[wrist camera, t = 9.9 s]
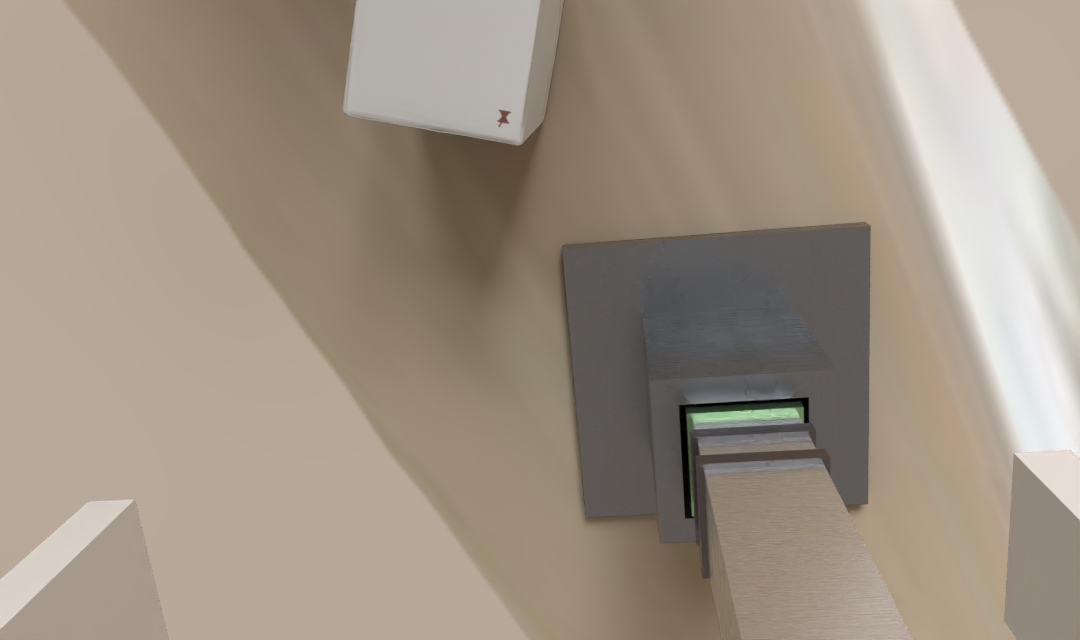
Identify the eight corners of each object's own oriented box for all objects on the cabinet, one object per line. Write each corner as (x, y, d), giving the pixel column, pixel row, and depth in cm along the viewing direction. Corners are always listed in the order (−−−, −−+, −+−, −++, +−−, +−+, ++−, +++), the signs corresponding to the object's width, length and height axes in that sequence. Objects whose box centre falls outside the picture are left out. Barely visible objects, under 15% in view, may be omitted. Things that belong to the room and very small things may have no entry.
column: (682, 391, 43) (752, 731, 22) (791, 385, 42) (972, 725, 21) (687, 488, 44) (758, 896, 23) (793, 483, 44) (964, 894, 23)
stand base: (562, 245, 50) (549, 304, 39) (865, 222, 48) (943, 276, 37) (586, 509, 54) (579, 631, 43) (863, 495, 53) (932, 618, 42)
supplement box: (570, -23, 46) (556, -47, 34) (544, 125, 48) (522, 153, 36) (425, -50, 46) (360, -82, 34) (406, 99, 48) (339, 118, 36)
